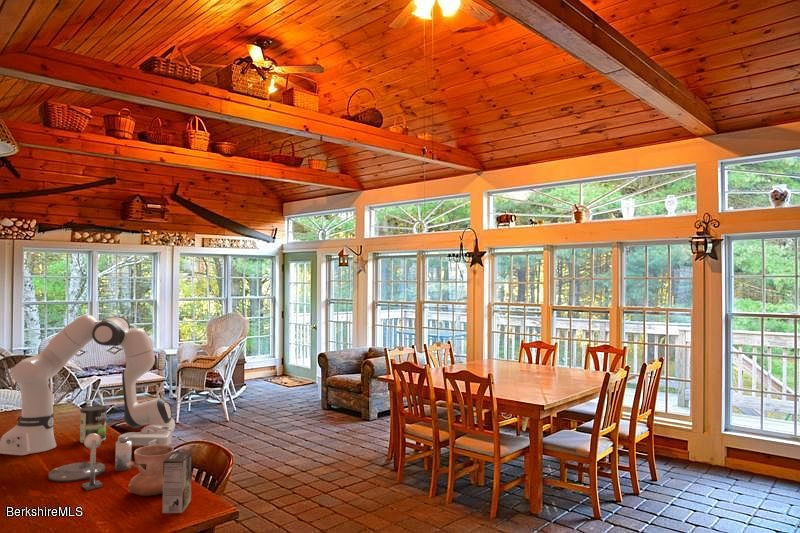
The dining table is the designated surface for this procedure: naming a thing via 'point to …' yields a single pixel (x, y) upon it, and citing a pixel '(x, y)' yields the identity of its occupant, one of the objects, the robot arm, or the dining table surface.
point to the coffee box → (176, 482)
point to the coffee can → (93, 422)
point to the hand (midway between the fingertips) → (135, 444)
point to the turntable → (75, 472)
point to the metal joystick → (92, 460)
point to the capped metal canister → (123, 453)
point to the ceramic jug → (149, 469)
